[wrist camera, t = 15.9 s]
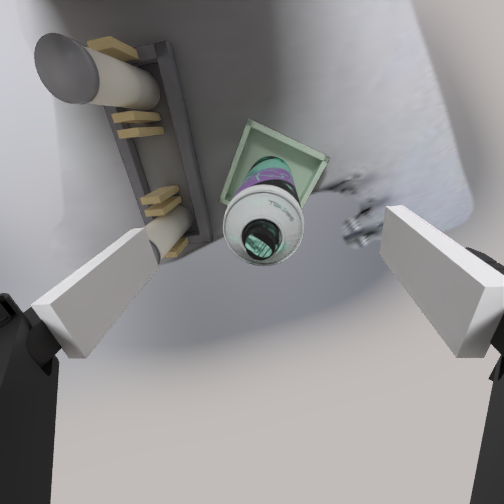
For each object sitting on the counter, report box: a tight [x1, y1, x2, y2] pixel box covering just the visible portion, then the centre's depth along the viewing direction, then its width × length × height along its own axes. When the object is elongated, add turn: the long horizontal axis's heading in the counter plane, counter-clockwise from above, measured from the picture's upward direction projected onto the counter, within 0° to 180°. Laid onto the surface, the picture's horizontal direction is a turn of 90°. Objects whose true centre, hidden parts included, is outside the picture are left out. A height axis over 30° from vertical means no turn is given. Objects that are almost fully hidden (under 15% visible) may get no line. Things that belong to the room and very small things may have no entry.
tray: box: [218, 119, 330, 209], centre depth 30 cm, size 10×10×2 cm
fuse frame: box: [86, 36, 213, 258], centre depth 29 cm, size 23×9×6 cm, turn 7°
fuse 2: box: [143, 205, 192, 264], centre depth 30 cm, size 4×4×12 cm
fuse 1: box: [34, 33, 160, 110], centre depth 23 cm, size 4×4×12 cm
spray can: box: [223, 156, 304, 266], centre depth 22 cm, size 6×6×20 cm
